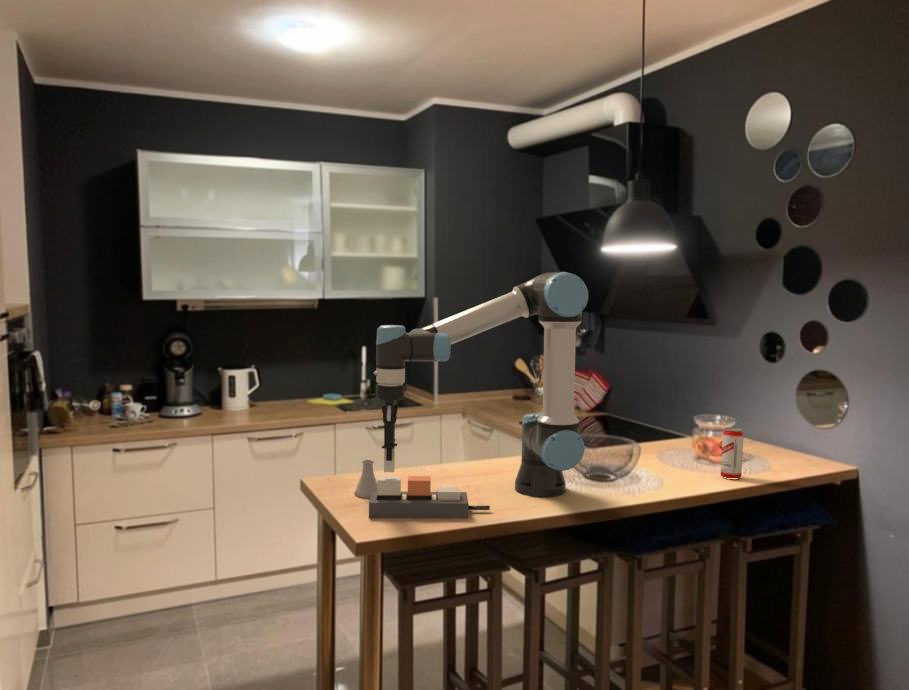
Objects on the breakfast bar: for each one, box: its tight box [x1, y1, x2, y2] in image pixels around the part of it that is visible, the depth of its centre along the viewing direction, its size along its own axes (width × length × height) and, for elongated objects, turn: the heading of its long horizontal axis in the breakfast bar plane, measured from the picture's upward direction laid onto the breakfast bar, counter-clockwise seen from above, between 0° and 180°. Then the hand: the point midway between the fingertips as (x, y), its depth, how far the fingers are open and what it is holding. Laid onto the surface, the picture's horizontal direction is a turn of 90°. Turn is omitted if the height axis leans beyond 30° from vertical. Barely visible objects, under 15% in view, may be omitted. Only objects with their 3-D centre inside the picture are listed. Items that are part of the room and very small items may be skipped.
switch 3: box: [437, 486, 462, 500], centre depth 192 cm, size 6×4×4 cm
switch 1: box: [376, 475, 402, 495], centre depth 191 cm, size 6×4×4 cm
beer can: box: [720, 427, 744, 479], centre depth 230 cm, size 6×6×16 cm
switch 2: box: [407, 475, 431, 496], centre depth 191 cm, size 6×4×4 cm
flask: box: [353, 459, 377, 499], centre depth 206 cm, size 7×7×10 cm
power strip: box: [368, 491, 491, 519], centre depth 192 cm, size 32×10×4 cm, turn 92°
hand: (389, 471), depth 191 cm, fingers closed
